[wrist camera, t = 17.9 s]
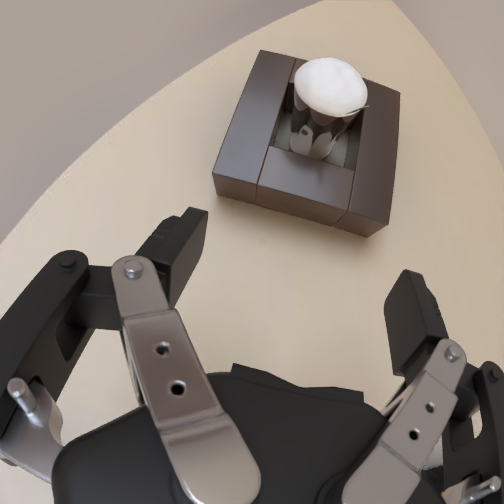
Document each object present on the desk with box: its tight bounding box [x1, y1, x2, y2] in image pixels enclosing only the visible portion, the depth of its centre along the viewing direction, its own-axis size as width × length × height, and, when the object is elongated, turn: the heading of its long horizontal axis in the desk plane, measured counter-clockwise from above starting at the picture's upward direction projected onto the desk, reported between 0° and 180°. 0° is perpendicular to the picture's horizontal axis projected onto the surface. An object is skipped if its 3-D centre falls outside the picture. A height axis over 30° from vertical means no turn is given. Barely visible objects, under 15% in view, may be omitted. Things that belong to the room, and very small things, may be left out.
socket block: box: [212, 50, 400, 237], centre depth 23 cm, size 12×12×4 cm
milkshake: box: [289, 57, 369, 160], centre depth 20 cm, size 4×5×10 cm
